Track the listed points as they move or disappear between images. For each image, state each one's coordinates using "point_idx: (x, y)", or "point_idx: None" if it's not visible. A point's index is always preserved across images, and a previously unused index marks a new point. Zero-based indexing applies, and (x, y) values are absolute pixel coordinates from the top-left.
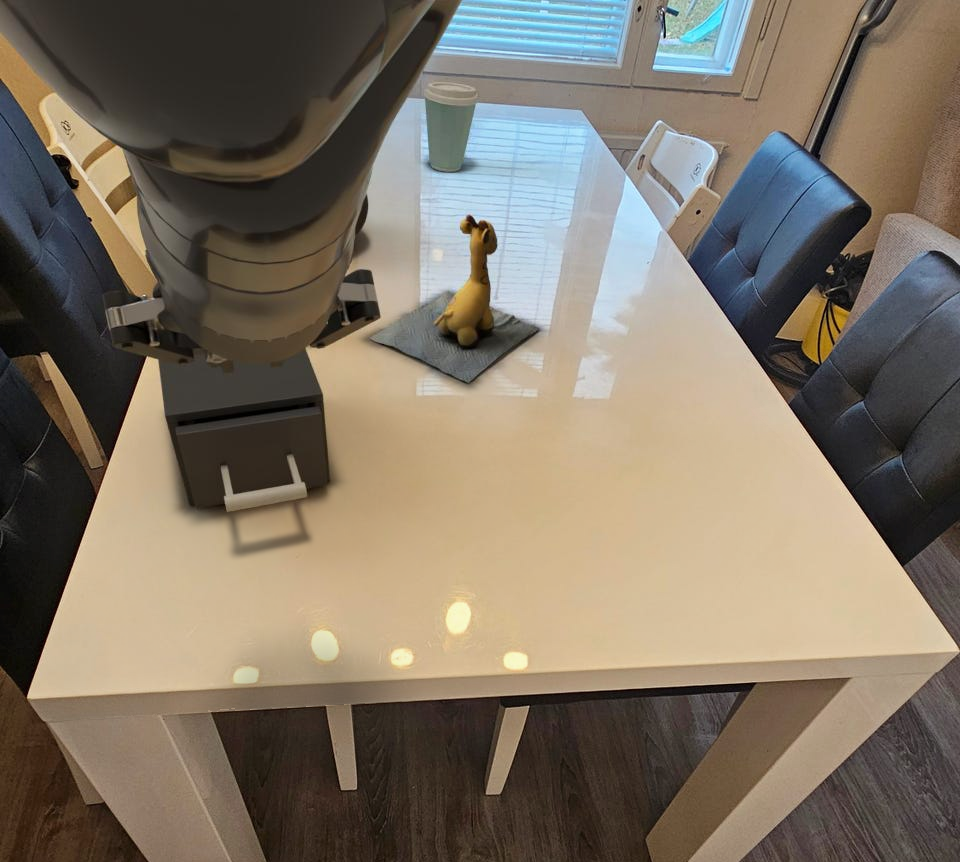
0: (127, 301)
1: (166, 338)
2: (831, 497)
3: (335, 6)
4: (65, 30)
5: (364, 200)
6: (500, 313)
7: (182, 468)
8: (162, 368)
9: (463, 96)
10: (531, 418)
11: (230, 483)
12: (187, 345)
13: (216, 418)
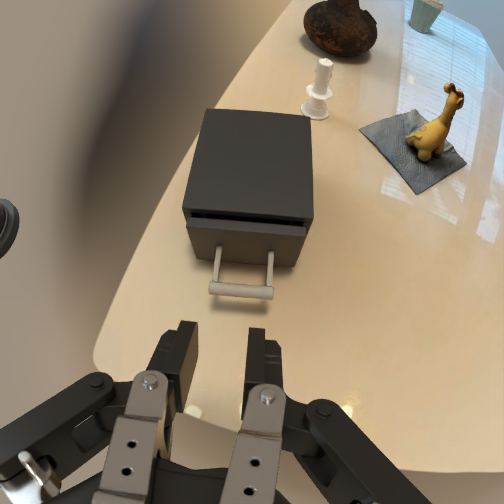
0: (2, 476)
1: (74, 456)
2: None
3: None
4: None
5: (375, 36)
6: (445, 140)
7: None
8: (196, 153)
9: (436, 4)
10: (449, 244)
11: (218, 268)
12: (112, 428)
13: None
